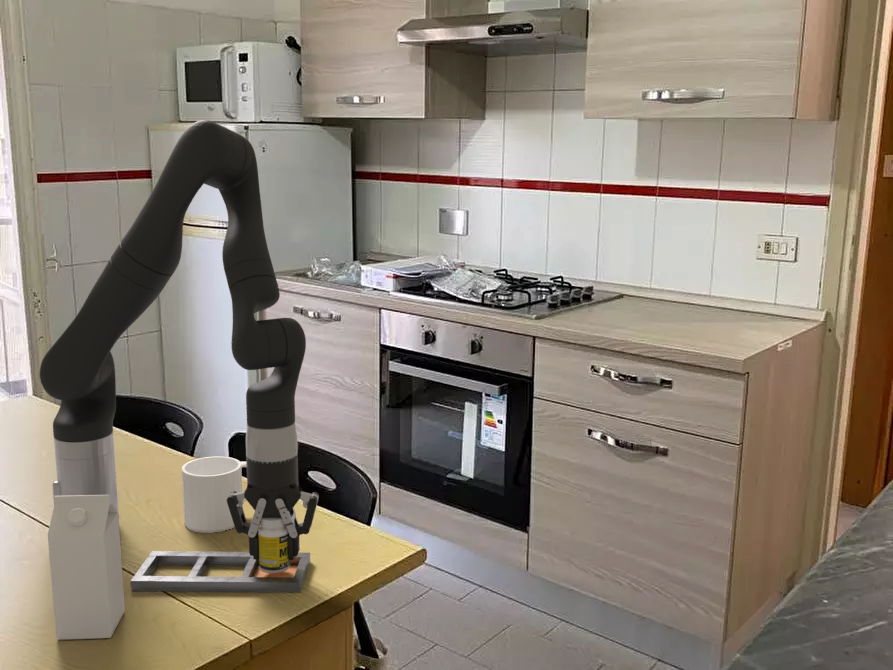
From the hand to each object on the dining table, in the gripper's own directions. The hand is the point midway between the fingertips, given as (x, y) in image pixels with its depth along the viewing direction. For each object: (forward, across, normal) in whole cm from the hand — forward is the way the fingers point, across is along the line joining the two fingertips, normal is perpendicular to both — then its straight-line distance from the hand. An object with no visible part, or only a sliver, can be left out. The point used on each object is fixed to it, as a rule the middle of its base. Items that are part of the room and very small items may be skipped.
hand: (274, 557), depth 138 cm
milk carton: (+3, -22, -15) cm, 27 cm away
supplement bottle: (+2, 0, 0) cm, 2 cm away
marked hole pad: (+3, 0, 0) cm, 3 cm away
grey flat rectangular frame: (+3, -8, 0) cm, 9 cm away
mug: (+3, -13, +21) cm, 25 cm away
